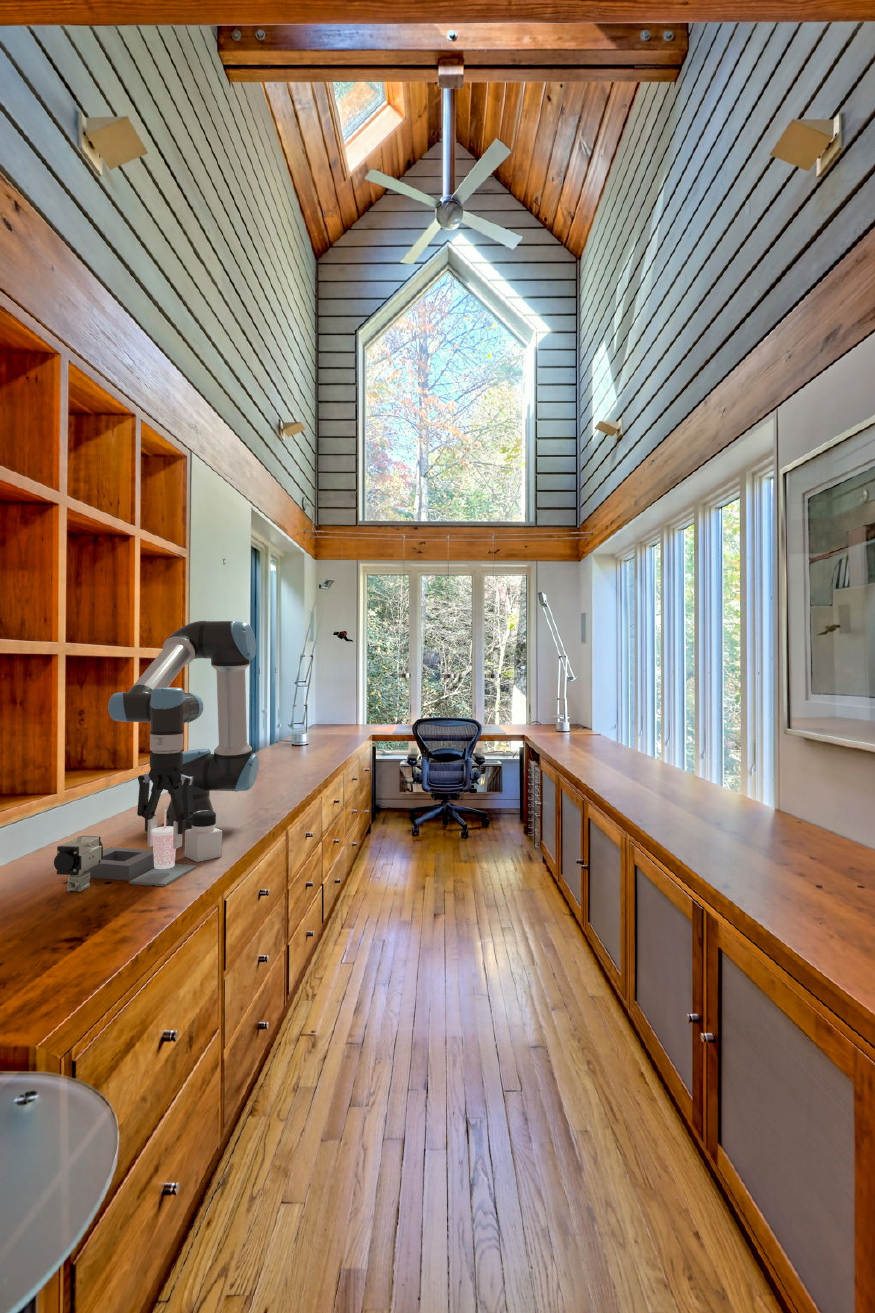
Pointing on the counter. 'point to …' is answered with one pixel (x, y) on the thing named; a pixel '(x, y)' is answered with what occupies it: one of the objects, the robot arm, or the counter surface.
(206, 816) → the medicine bottle
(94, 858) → the pneumatic valve
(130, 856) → the socket block
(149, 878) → the rubber mat
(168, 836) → the beverage cup
